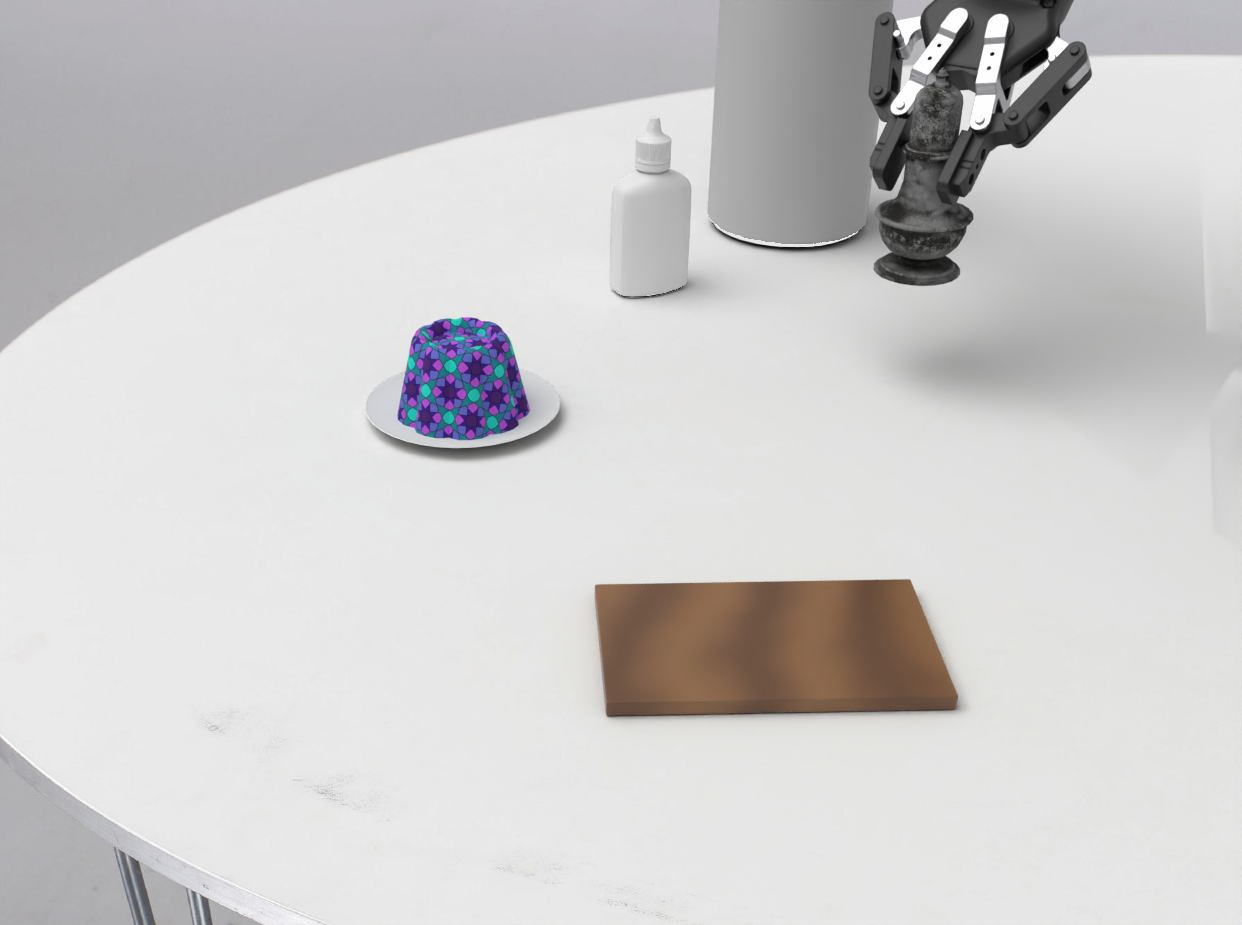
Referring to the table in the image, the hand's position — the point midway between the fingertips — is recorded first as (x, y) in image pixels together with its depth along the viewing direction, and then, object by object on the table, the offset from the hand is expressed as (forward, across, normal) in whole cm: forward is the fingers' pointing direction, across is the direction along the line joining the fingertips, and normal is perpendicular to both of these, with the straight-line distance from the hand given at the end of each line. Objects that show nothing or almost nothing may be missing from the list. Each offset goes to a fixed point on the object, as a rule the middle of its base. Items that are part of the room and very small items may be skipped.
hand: (913, 189), depth 91 cm
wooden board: (+30, +10, -13) cm, 34 cm away
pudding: (+23, -18, -6) cm, 30 cm away
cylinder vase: (-6, -21, +24) cm, 32 cm away
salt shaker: (+3, 0, +5) cm, 6 cm away
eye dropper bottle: (+6, -21, +11) cm, 25 cm away
